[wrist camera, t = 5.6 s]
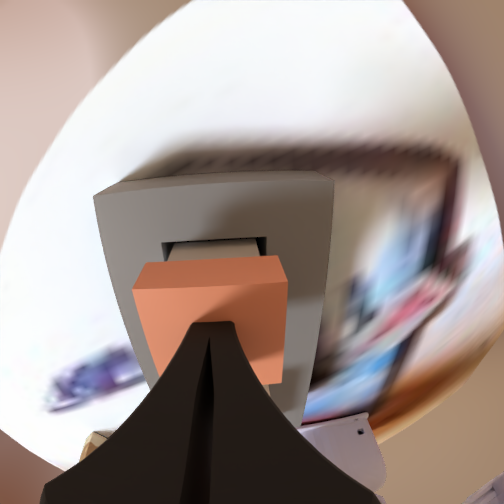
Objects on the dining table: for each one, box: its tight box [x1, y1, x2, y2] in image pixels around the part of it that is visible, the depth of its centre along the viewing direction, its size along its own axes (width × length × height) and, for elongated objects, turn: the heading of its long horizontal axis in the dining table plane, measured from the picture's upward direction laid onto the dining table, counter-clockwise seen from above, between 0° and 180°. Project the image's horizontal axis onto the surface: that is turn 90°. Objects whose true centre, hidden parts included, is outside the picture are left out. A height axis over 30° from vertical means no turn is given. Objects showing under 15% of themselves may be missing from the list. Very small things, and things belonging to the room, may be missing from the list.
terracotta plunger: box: [132, 239, 288, 385], centre depth 11 cm, size 5×5×5 cm
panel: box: [93, 170, 334, 428], centre depth 15 cm, size 10×18×3 cm, turn 1°
